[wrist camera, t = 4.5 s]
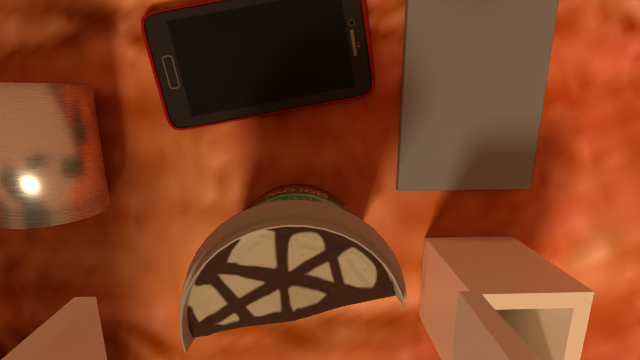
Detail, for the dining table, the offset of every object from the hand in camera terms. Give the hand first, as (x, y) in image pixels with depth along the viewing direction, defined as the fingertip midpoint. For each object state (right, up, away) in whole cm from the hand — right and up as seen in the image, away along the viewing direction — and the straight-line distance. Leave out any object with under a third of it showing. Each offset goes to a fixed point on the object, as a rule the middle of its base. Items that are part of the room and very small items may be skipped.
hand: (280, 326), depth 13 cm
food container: (-1, +3, +14) cm, 14 cm away
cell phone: (-3, +14, +11) cm, 18 cm away
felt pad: (+12, +12, +12) cm, 21 cm away
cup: (+13, -2, +15) cm, 20 cm away
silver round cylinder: (-16, +8, +12) cm, 21 cm away
